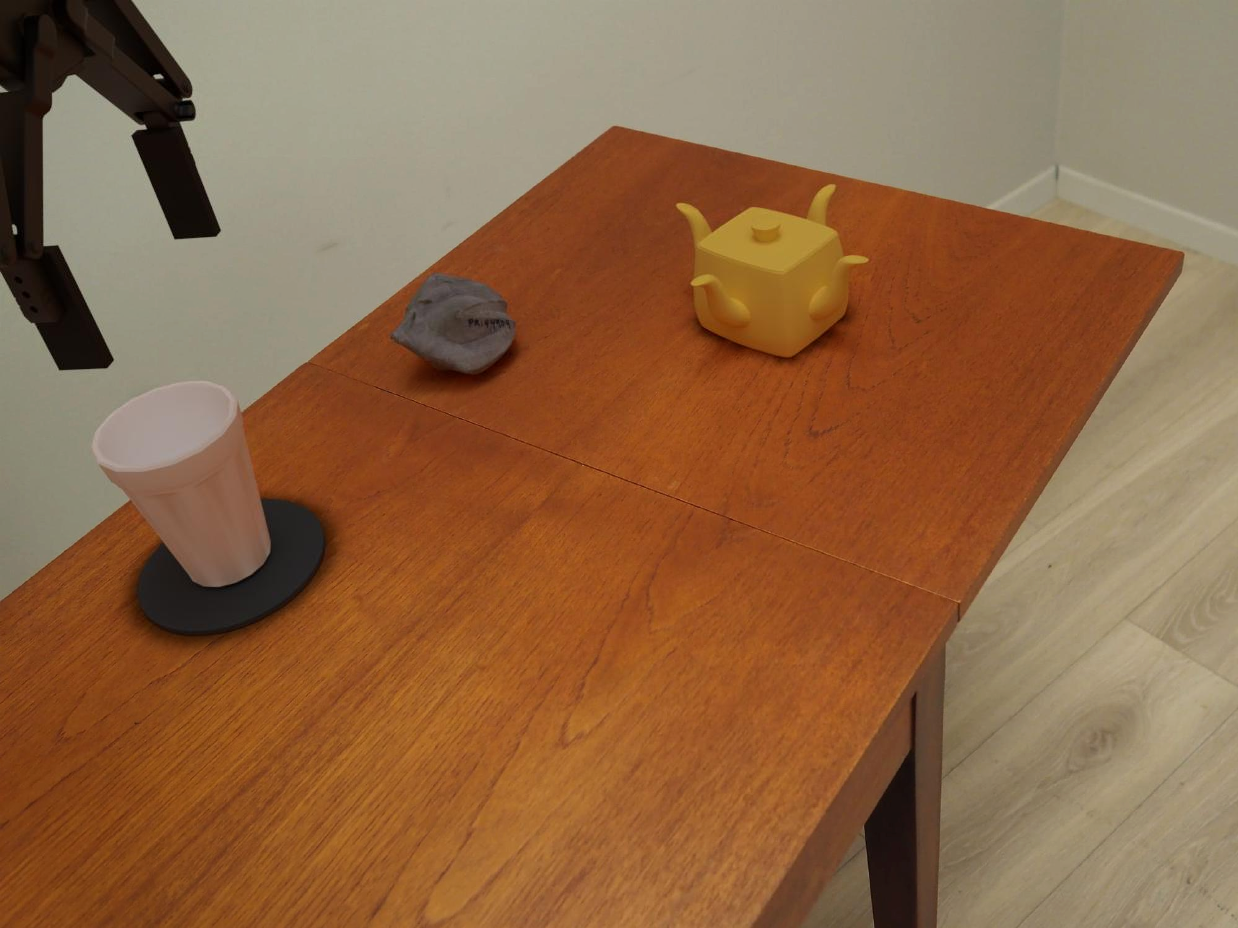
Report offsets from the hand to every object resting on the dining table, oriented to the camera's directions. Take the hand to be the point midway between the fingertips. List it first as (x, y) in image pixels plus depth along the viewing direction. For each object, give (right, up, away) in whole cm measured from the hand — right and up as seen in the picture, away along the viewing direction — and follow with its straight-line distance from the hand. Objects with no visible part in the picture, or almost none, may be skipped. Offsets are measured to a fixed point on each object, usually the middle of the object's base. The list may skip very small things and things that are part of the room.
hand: (147, 295), depth 64 cm
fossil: (+12, 0, +41) cm, 42 cm away
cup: (-3, -17, +23) cm, 29 cm away
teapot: (+39, +3, +39) cm, 56 cm away
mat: (-3, -17, +24) cm, 29 cm away
